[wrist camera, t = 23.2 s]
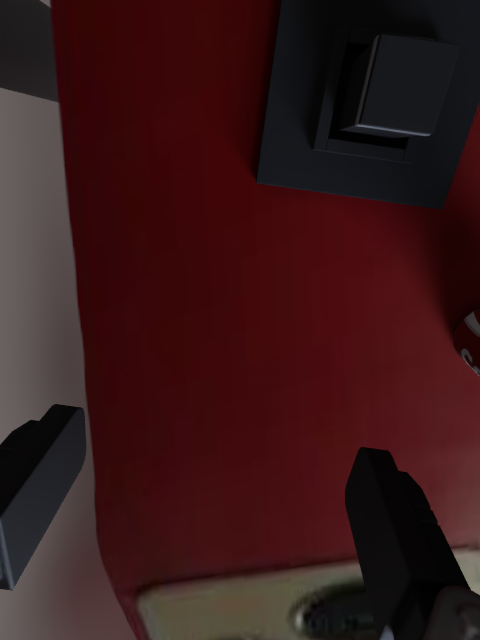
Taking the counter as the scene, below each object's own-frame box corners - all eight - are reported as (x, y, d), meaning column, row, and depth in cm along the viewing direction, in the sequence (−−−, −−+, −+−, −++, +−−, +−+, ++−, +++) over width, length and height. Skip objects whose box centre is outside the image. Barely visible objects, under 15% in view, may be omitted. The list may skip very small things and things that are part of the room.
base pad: (256, 182, 34) (255, 184, 32) (285, -28, 28) (287, -44, 26) (437, 208, 34) (450, 212, 32) (506, 5, 28) (528, -8, 26)
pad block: (336, 131, 31) (359, 124, 24) (350, 62, 29) (381, 31, 22) (393, 139, 31) (434, 135, 24) (412, 71, 29) (462, 43, 22)
